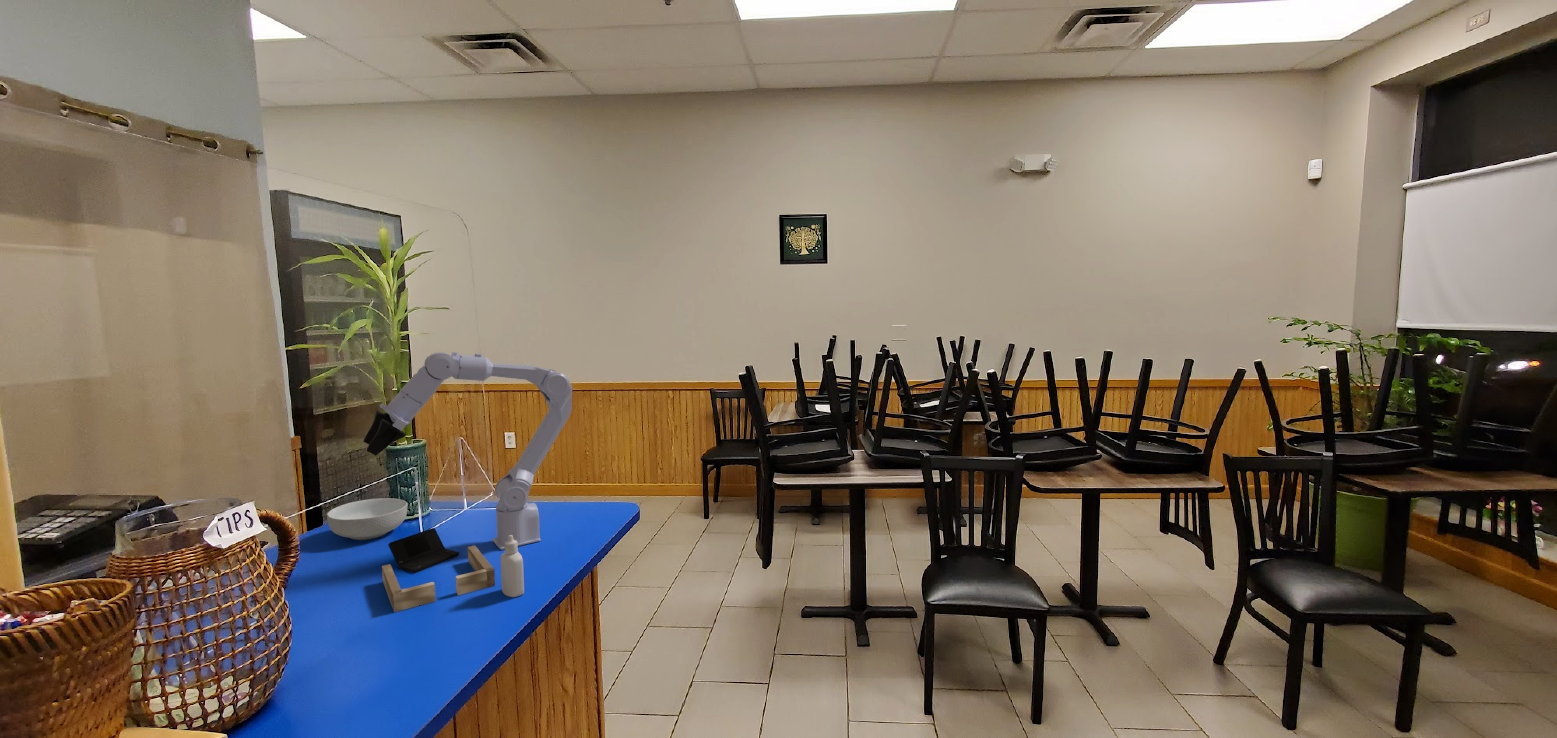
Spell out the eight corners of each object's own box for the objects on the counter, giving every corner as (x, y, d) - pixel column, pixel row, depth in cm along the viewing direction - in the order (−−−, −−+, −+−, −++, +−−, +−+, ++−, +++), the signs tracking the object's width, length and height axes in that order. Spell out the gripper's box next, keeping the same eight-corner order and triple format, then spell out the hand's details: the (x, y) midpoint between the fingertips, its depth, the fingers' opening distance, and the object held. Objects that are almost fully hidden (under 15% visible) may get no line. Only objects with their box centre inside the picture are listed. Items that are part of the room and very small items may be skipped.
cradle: (475, 560, 140) (474, 545, 139) (495, 585, 127) (494, 569, 127) (382, 581, 128) (381, 566, 128) (394, 612, 116) (393, 594, 115)
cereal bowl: (350, 552, 144) (348, 523, 143) (315, 539, 152) (313, 511, 151) (422, 529, 159) (420, 503, 158) (386, 518, 167) (385, 493, 166)
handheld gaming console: (422, 567, 132) (403, 528, 134) (401, 584, 134) (382, 545, 136) (464, 554, 143) (446, 518, 145) (444, 570, 145) (426, 534, 147)
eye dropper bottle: (525, 584, 127) (522, 529, 126) (523, 596, 122) (521, 539, 121) (502, 588, 126) (499, 532, 125) (500, 600, 121) (497, 541, 120)
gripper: (391, 381, 140) (349, 430, 136) (400, 394, 128) (353, 447, 125) (420, 398, 144) (379, 446, 140) (430, 411, 133) (386, 464, 129)
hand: (369, 448), depth 133 cm, fingers open, 7 cm apart
